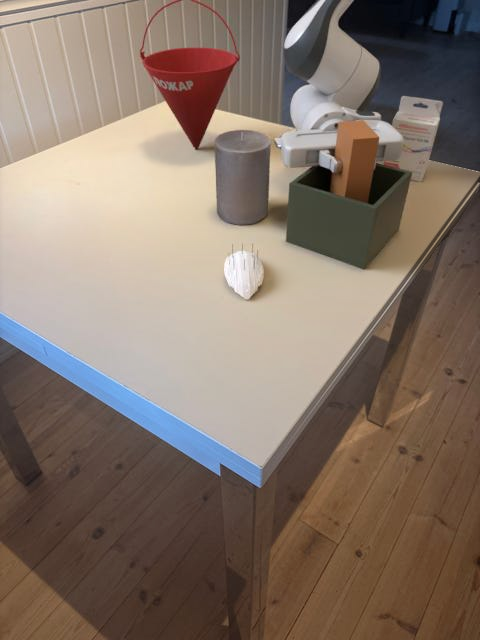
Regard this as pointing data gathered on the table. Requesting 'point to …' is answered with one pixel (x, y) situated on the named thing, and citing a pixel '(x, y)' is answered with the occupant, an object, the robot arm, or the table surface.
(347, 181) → the orange rectangular block
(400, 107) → the ink cartridge box
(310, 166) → the robot arm
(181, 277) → the table surface
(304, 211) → the waste bin
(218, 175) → the pillar candle
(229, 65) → the fire bucket
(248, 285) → the pincushion
